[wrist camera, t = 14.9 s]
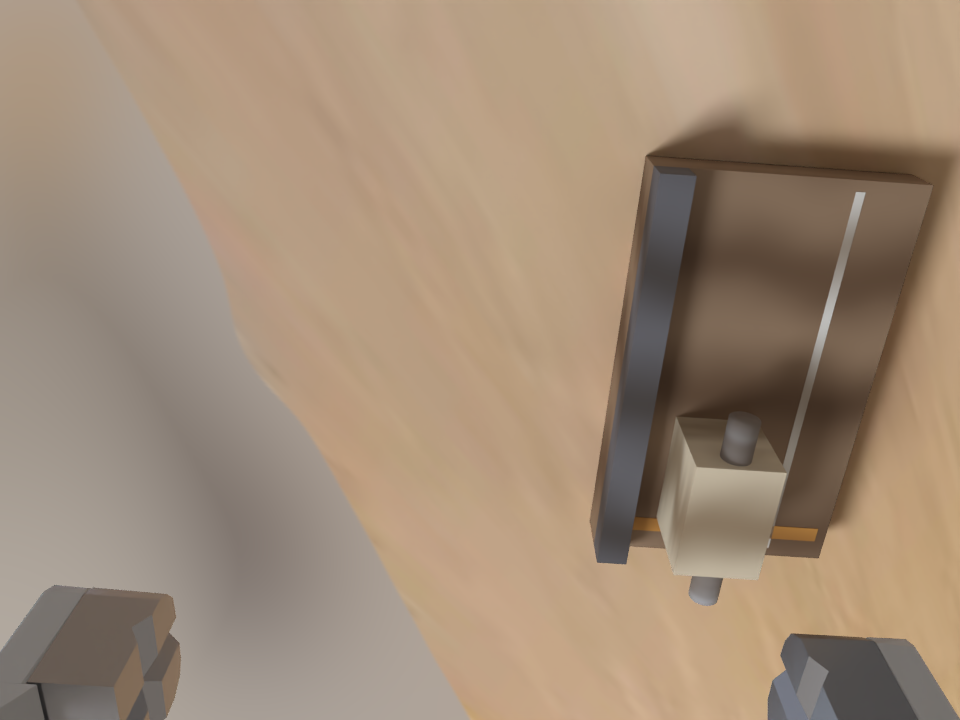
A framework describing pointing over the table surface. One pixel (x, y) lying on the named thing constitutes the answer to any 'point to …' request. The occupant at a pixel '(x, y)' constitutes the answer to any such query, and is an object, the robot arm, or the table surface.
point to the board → (752, 329)
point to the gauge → (719, 501)
